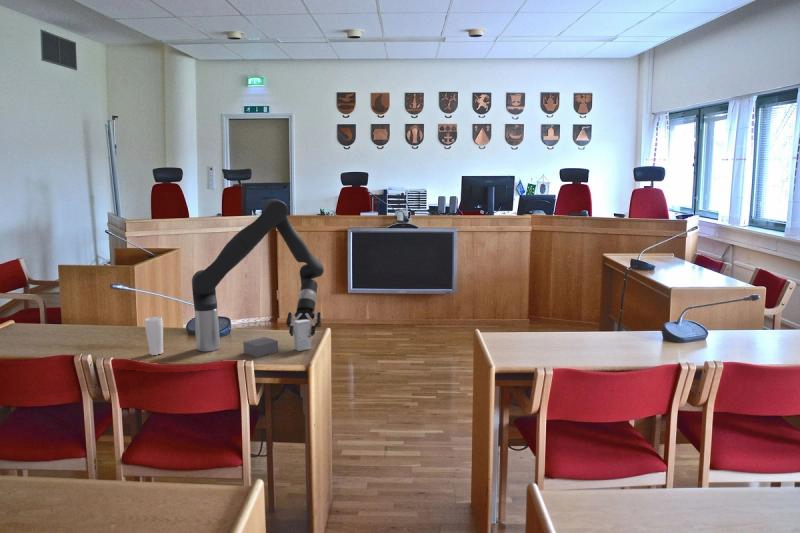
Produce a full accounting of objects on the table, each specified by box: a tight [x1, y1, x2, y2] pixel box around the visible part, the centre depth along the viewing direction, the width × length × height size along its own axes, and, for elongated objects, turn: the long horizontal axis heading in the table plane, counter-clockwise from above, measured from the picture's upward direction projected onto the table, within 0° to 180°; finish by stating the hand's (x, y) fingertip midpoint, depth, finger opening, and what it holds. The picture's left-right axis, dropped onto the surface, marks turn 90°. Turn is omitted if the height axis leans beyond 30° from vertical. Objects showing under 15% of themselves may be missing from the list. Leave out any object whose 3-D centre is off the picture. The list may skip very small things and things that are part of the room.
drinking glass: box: [144, 316, 164, 356], centre depth 268 cm, size 7×7×15 cm
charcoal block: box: [242, 336, 279, 358], centre depth 268 cm, size 10×10×5 cm
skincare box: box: [292, 319, 312, 352], centre depth 270 cm, size 6×4×12 cm
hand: (301, 335), depth 269 cm, fingers open, 8 cm apart
